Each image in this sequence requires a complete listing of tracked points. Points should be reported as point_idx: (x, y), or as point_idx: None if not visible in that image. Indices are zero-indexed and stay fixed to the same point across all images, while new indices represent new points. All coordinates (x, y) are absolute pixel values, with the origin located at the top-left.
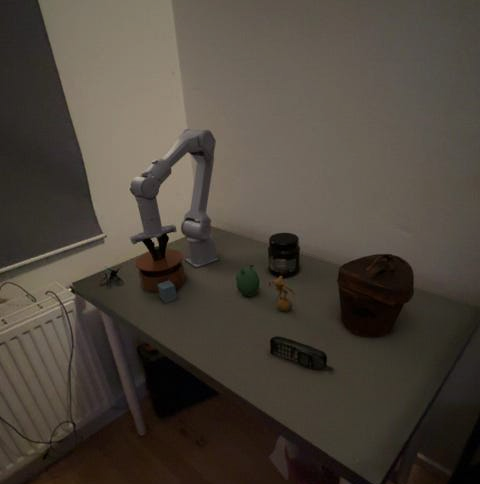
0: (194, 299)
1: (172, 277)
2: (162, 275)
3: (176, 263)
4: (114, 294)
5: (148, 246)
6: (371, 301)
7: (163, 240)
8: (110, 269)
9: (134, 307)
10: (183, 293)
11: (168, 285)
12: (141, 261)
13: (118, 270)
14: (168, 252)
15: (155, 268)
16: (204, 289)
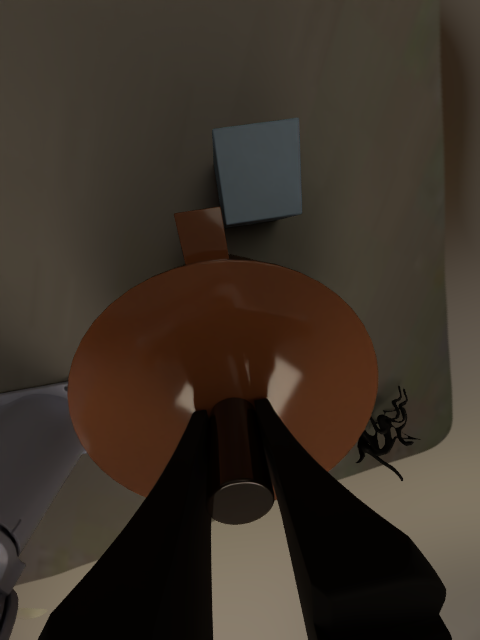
0: (133, 97)
1: (199, 253)
2: None
3: (133, 294)
4: (399, 340)
5: (391, 524)
6: None
7: (142, 612)
8: (382, 462)
9: (387, 207)
10: (174, 198)
11: (249, 151)
12: (332, 428)
13: (359, 450)
14: (160, 464)
15: (298, 299)
16: (64, 173)
